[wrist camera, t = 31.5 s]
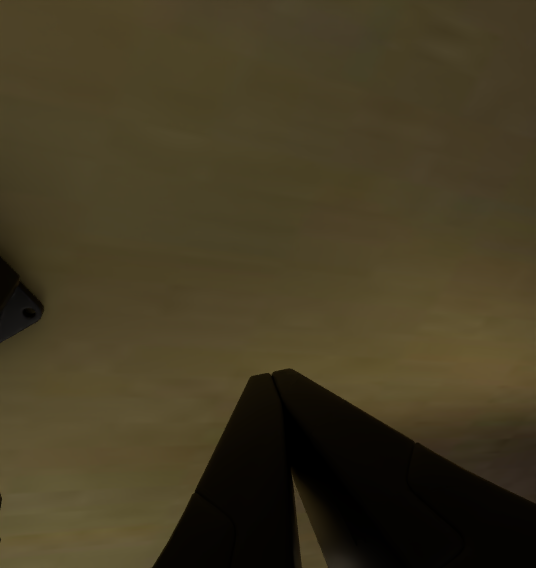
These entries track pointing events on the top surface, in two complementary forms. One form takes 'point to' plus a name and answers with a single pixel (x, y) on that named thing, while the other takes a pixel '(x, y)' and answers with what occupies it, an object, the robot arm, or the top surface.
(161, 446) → the top surface
